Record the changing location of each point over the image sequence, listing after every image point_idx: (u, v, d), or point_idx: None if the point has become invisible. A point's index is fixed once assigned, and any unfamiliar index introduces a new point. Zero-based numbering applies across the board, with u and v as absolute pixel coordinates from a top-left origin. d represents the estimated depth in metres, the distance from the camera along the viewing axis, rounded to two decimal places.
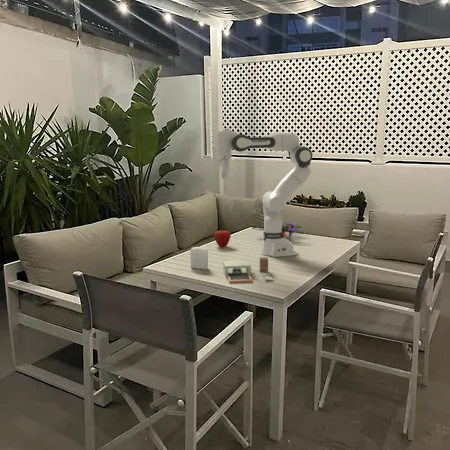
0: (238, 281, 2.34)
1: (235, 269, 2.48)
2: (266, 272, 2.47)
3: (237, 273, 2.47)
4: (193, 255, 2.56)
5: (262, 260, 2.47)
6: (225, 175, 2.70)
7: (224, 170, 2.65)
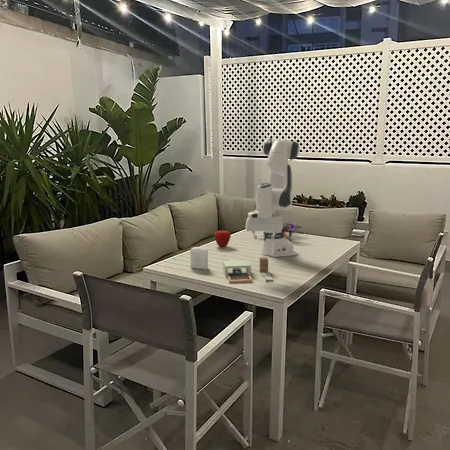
0: (238, 281, 2.34)
1: (235, 269, 2.48)
2: (266, 272, 2.47)
3: (237, 273, 2.47)
4: (193, 255, 2.56)
5: (262, 260, 2.47)
6: None
7: None
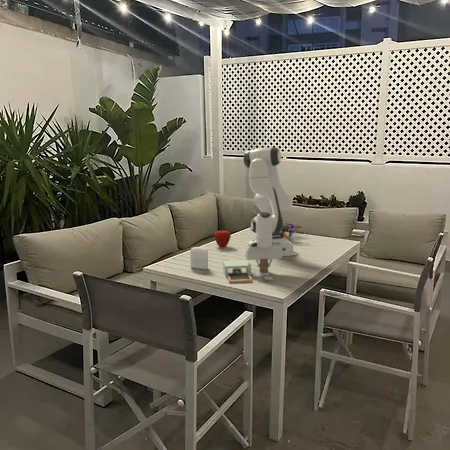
0: (238, 281, 2.34)
1: (235, 269, 2.48)
2: (266, 272, 2.47)
3: (237, 273, 2.47)
4: (193, 255, 2.56)
5: (262, 260, 2.47)
6: None
7: None
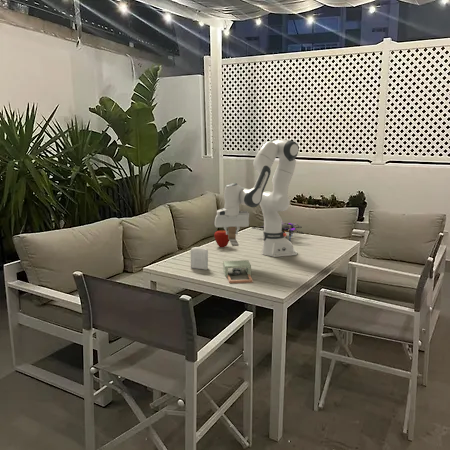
0: (238, 281, 2.34)
1: (235, 269, 2.48)
2: (233, 239, 2.64)
3: (237, 273, 2.47)
4: (193, 255, 2.56)
5: (230, 228, 2.65)
6: None
7: (248, 223, 2.67)
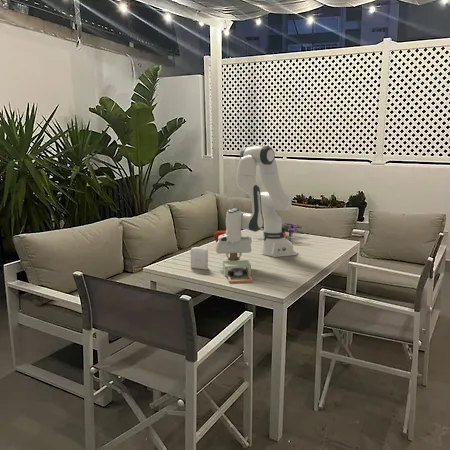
0: (238, 281, 2.34)
1: (236, 272, 2.43)
2: None
3: (238, 276, 2.42)
4: (193, 255, 2.56)
5: (231, 254, 2.59)
6: None
7: None
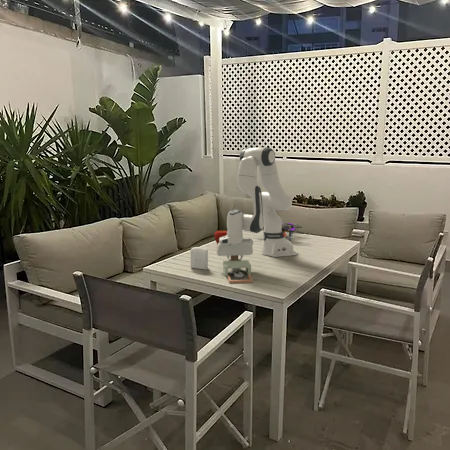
0: (238, 281, 2.34)
1: (237, 273, 2.41)
2: None
3: (239, 278, 2.39)
4: (193, 255, 2.56)
5: (232, 256, 2.56)
6: None
7: (252, 252, 2.55)
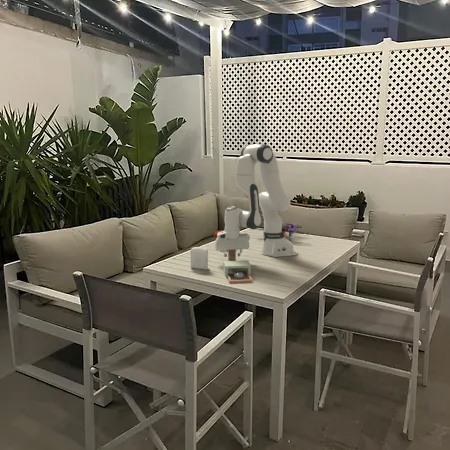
0: (238, 281, 2.34)
1: (237, 273, 2.41)
2: None
3: (239, 278, 2.39)
4: (193, 255, 2.56)
5: (230, 250, 2.68)
6: None
7: None
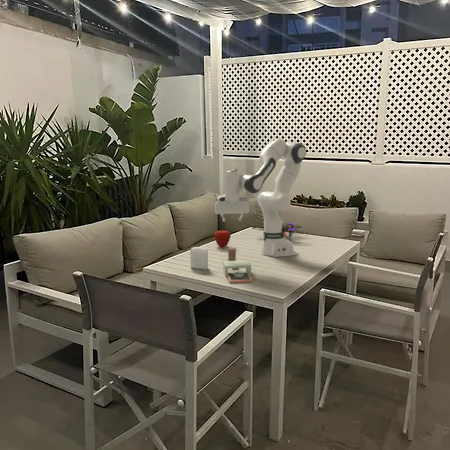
0: (238, 281, 2.34)
1: (237, 273, 2.41)
2: None
3: (239, 278, 2.39)
4: (193, 255, 2.56)
5: (230, 250, 2.68)
6: None
7: None
